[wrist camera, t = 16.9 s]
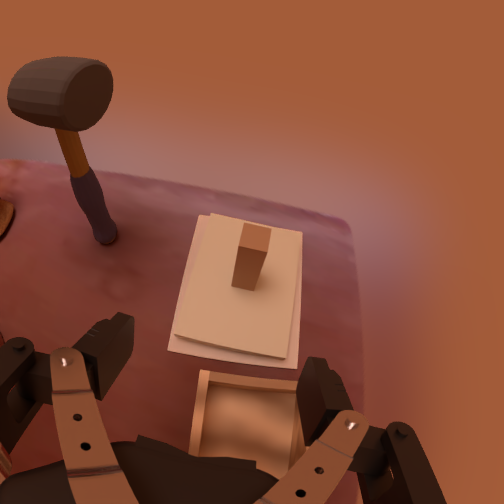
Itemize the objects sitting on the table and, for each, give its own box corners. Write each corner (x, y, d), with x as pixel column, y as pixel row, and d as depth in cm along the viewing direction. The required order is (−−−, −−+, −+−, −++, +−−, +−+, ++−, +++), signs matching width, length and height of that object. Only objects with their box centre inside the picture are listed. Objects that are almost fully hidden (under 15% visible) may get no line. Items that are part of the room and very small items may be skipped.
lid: (281, 361, 35) (313, 339, 25) (176, 338, 35) (161, 305, 24) (296, 242, 45) (322, 189, 35) (210, 222, 45) (213, 164, 34)
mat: (296, 369, 35) (297, 368, 35) (167, 350, 34) (167, 350, 34) (301, 233, 47) (302, 232, 47) (199, 216, 46) (199, 214, 46)
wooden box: (287, 508, 25) (303, 526, 19) (185, 501, 24) (180, 519, 18) (301, 387, 34) (320, 382, 28) (202, 376, 33) (200, 369, 27)
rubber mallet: (150, 234, 43) (116, 44, 17) (123, 272, 39) (48, 81, 14) (96, 207, 44) (47, 47, 19) (69, 239, 40) (-5, 80, 15)
